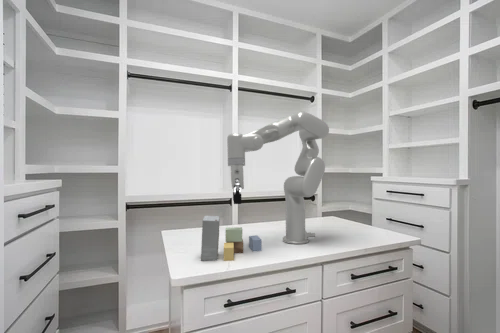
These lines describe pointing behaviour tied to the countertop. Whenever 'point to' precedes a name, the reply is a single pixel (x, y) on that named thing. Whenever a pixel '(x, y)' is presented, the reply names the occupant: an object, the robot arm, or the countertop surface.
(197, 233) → the countertop surface
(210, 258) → the skincare box
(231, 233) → the sage brick
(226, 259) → the ochre brick
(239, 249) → the walnut brick
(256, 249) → the slate brick
